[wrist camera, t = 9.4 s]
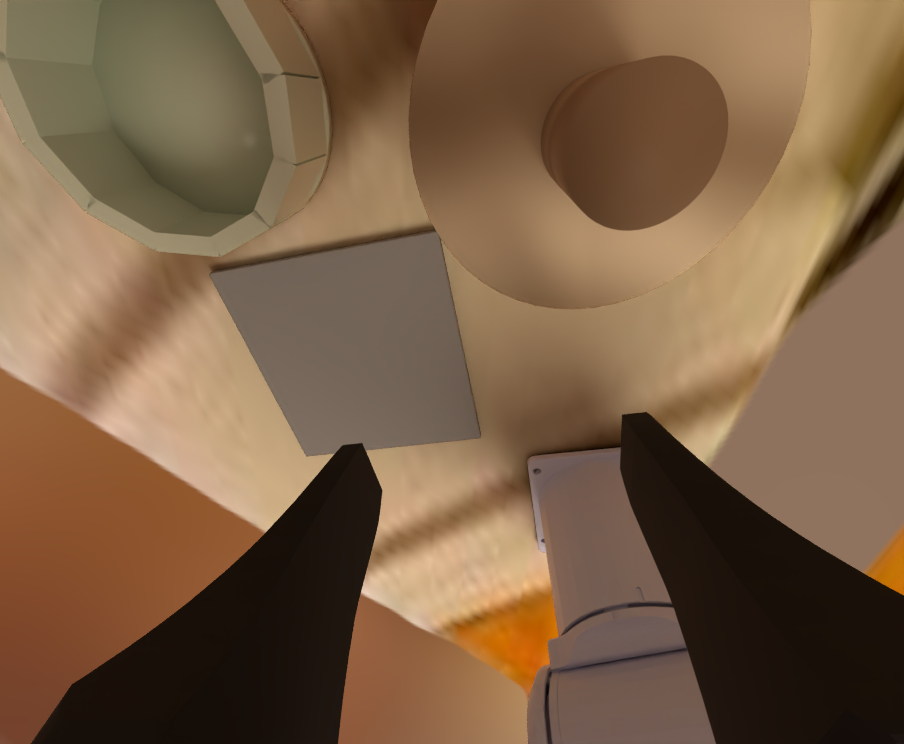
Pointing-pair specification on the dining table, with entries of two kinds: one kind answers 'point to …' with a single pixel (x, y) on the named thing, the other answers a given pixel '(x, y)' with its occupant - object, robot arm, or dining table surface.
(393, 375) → the slate mat
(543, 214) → the lid
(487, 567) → the dining table surface
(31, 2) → the sage bowl
